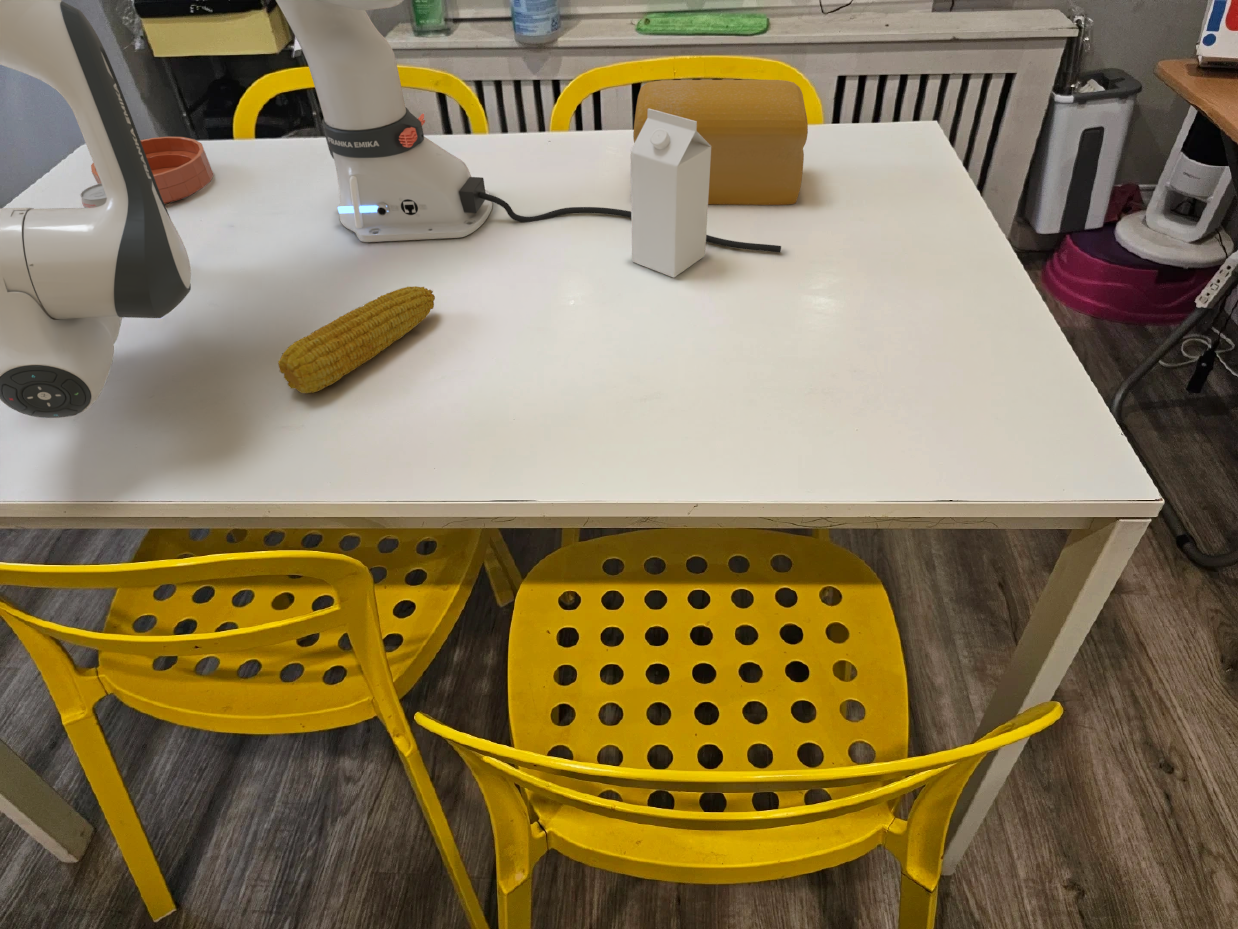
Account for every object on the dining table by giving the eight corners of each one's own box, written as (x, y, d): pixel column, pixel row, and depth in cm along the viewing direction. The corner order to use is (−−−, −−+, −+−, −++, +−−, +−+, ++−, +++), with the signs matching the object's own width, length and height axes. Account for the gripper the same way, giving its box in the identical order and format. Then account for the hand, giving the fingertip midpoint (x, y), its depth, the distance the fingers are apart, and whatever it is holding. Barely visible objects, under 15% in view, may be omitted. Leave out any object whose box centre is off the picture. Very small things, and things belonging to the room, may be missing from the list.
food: (316, 409, 86) (298, 365, 81) (281, 392, 88) (263, 348, 84) (448, 316, 98) (439, 273, 94) (415, 303, 100) (405, 261, 96)
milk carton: (663, 241, 110) (665, 99, 97) (705, 257, 107) (713, 112, 94) (631, 262, 106) (629, 117, 93) (674, 279, 103) (678, 131, 90)
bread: (633, 204, 119) (632, 100, 108) (638, 168, 128) (637, 69, 117) (798, 206, 117) (813, 100, 106) (791, 168, 126) (804, 68, 116)
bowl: (233, 168, 132) (222, 137, 128) (181, 213, 120) (167, 181, 117) (143, 164, 134) (130, 134, 130) (84, 208, 122) (68, 177, 119)
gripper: (168, 259, 82) (177, 203, 91) (-57, 297, 77) (-23, 233, 87) (192, 312, 86) (198, 253, 96) (-20, 350, 82) (9, 284, 91)
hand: (92, 244), depth 91 cm, fingers open, 8 cm apart
